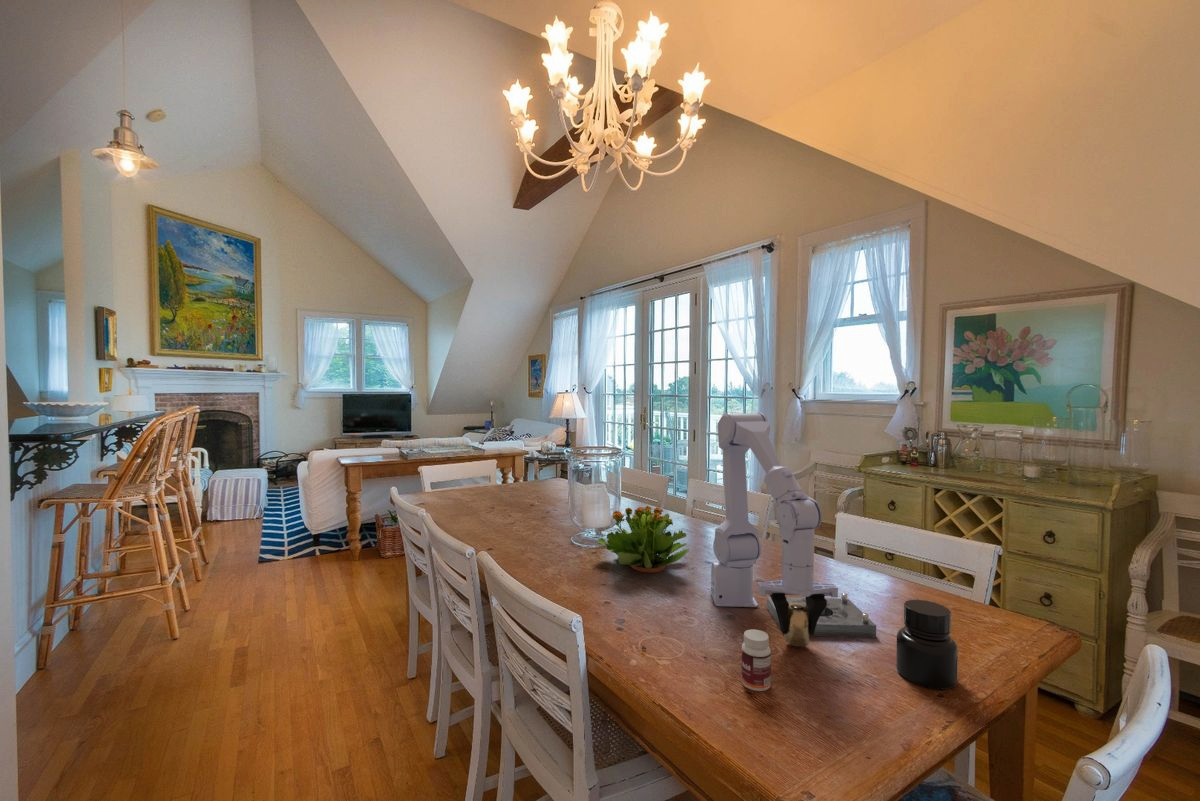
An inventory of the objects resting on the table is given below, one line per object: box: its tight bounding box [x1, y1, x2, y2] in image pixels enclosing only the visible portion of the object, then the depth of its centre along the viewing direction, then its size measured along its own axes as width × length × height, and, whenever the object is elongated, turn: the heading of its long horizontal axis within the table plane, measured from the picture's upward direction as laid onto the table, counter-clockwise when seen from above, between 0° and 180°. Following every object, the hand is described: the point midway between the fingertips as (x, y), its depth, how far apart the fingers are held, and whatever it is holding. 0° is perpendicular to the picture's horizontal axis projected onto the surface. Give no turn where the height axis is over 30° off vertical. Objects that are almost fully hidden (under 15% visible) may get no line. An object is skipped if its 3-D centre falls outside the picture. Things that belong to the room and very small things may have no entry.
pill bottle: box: [740, 628, 772, 692], centre depth 86 cm, size 5×5×8 cm
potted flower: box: [597, 505, 690, 574], centre depth 142 cm, size 25×24×18 cm
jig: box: [766, 592, 877, 639], centre depth 109 cm, size 18×13×4 cm
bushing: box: [784, 602, 810, 647], centre depth 99 cm, size 4×4×7 cm
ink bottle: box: [895, 599, 959, 690], centre depth 88 cm, size 10×9×12 cm
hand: (796, 632), depth 99 cm, fingers closed on bushing, 4 cm apart
